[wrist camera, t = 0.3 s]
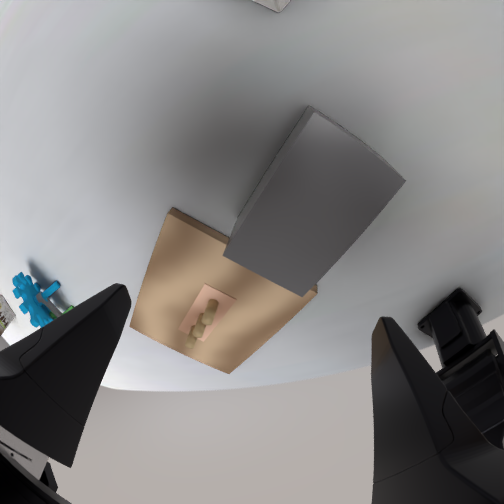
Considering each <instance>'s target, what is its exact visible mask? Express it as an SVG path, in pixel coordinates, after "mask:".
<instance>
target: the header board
mask: <svg viewBox="0 0 504 504" xmlns="http://www.w3.org/2000/svg"><path fill="white" fill-rule="evenodd" d="M228 240H229V238H228V237H226V236H224V235H222V234H221V233H219V232H217V231H215V230H213V229H211V228H210V227H208V226H206V225H204V224H202V223H200V222H198V221H197V220H195V219H193V218H191V217H189V216H187V215H185V214H184V213H182V212H180V211H178V210H176V209H174V208H172V209H171V210H170V211H169V212H168V213H167V216H166V219H165V221H164V224H163V226H162V229H161V232H160V234H159V237H158V240H157V242H156V245H155V248H154V251H153V253H152V256H151V259H150V262H149V265H148V268H147V271H146V274H145V277H144V280H143V283H142V286H141V289H140V292H139V296H138V299H137V302H136V305H135V309H134V312H133V316H132V319H131V323H130V326H129V327H131V328H133V329H135V330H136V331H138V332H140V333H142V334H144V335H146V336H148V337H150V338H151V339H153V340H155V341H157V342H159V343H161V344H163V345H165V346H167V347H169V348H171V349H173V350H175V351H177V352H180V353H182V354H184V355H186V356H188V357H190V358H192V359H195V360H197V361H199V362H201V363H204V364H206V365H208V366H211V367H213V368H215V369H218V370H220V371H223V372H225V373H227V374H230V373H231V372H232V371H233V370H234V369H236V368H237V367H238V366H239V365H240V364H241V363H243V362H244V361H245V360H246V359H247V358H248V357H250V356H251V355H252V354H253V353H254V352H255V351H256V350H258V349H259V348H260V347H261V346H262V345H263V344H264V343H266V342H267V341H268V340H269V339H270V338H271V337H272V336H273V335H274V334H275V333H277V332H278V331H279V330H280V329H281V328H282V327H283V326H284V325H285V324H286V323H287V322H288V321H290V320H291V319H292V318H293V317H294V316H295V315H296V314H297V313H298V312H299V311H300V310H301V309H302V308H303V307H304V306H305V305H306V304H307V303H308V302H309V301H310V300H311V299H312V298H313V297H314V296H315V295H317V285H314V286H313V287H312V288H311V289H310V290H309V291H308V292H307V293H306V294H305V295H304V296H303V297H300V296H299V295H297V294H295V293H293V292H291V291H289V290H287V289H285V288H283V287H281V286H279V285H277V284H275V283H273V282H271V281H270V280H268V279H266V278H264V277H262V276H260V275H258V274H256V273H254V272H252V271H250V270H248V269H247V268H245V267H243V266H241V265H239V264H237V263H235V262H233V261H231V260H230V259H228V258H226V257H224V256H222V255H223V253H224V250H225V248H226V245H227V243H228Z"/></svg>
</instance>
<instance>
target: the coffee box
mask: <svg viewBox="0 0 504 504" xmlns="http://www.w3.org/2000/svg"><path fill="white" fill-rule="evenodd" d="M14 317H15V314H14V313H13V311H12V310H11V308H10V307H9V305H8V304H7V302H6V301H5V299H4V297H3V296H1V295H0V336H1V335H2V333H3V332H4V330H5V329H6V328H7V327H8V325H9V324H10V322H11V321H12V320H13V318H14Z"/></svg>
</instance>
